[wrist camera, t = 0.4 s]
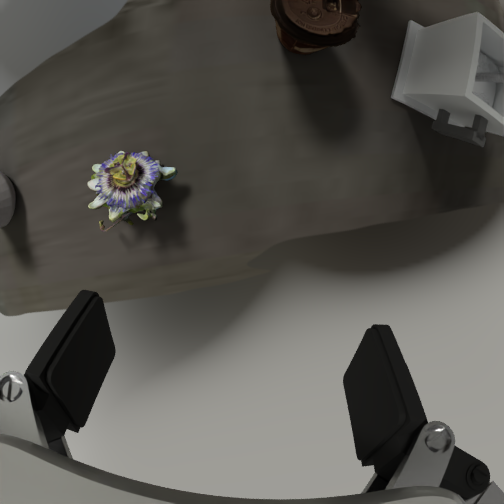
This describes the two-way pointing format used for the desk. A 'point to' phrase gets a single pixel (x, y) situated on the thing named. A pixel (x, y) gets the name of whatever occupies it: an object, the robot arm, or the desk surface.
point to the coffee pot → (6, 200)
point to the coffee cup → (315, 23)
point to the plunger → (486, 79)
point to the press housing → (452, 76)
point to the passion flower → (128, 186)
